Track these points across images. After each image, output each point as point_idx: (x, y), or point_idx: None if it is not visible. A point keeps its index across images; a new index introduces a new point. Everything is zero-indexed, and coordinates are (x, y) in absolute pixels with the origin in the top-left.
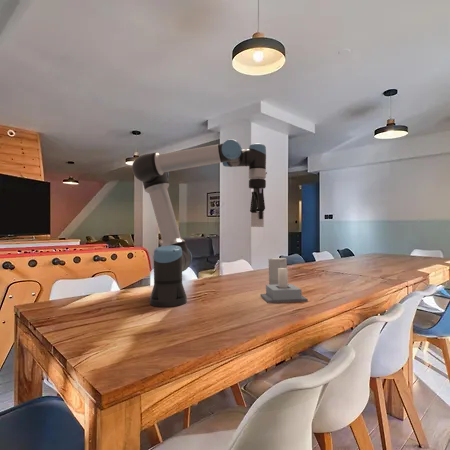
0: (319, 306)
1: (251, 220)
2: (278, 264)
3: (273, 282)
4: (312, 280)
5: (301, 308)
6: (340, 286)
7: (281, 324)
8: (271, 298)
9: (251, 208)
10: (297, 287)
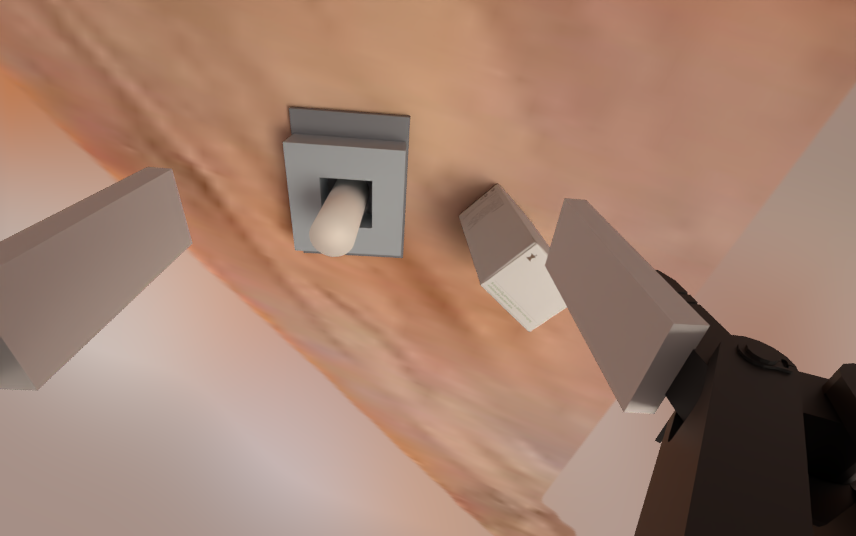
0: (241, 255)
1: (598, 241)
2: (480, 266)
3: (485, 209)
4: (600, 377)
5: (215, 196)
6: (480, 403)
7: (7, 58)
8: (320, 135)
9: (777, 421)
10: None
